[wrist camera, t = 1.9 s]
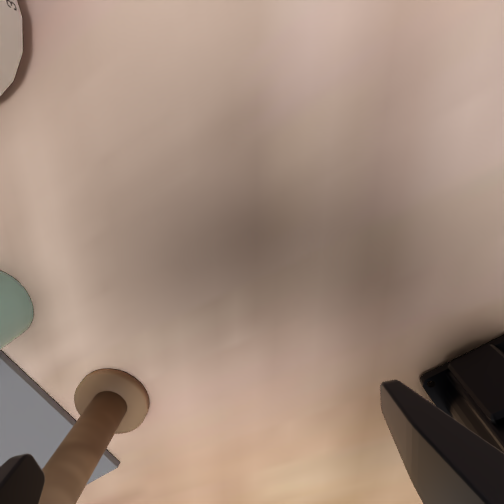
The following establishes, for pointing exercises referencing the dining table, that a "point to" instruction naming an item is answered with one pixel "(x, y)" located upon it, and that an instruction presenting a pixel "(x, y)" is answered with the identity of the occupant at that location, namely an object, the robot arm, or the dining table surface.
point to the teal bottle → (13, 309)
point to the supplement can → (10, 42)
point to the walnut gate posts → (93, 431)
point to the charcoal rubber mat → (34, 421)
